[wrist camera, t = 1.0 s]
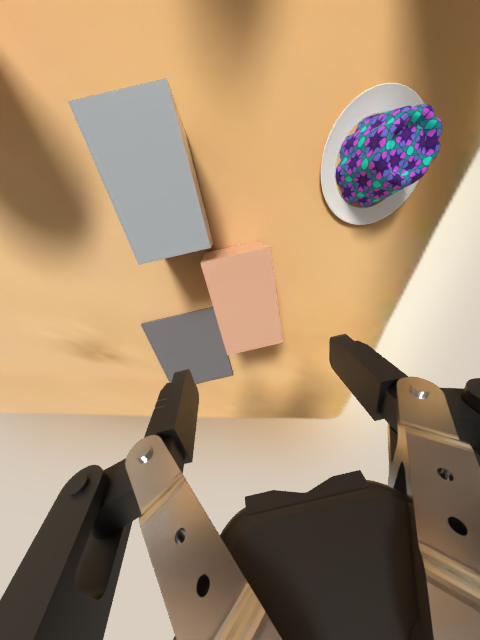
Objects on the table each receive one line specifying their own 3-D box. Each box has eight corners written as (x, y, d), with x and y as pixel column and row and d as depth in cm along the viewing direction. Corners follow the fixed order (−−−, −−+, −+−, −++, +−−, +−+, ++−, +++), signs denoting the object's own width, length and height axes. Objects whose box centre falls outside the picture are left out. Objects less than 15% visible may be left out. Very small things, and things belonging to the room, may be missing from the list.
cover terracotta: (255, 240, 24) (270, 246, 17) (267, 314, 28) (283, 342, 21) (205, 252, 24) (200, 263, 17) (225, 324, 28) (227, 355, 21)
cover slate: (185, 131, 19) (166, 78, 12) (213, 241, 23) (210, 247, 16) (122, 146, 19) (68, 101, 12) (162, 253, 23) (138, 264, 16)
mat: (213, 306, 27) (213, 307, 26) (232, 373, 32) (233, 374, 32) (142, 323, 27) (141, 324, 26) (173, 386, 32) (172, 388, 32)
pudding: (447, 112, 20) (516, 77, 16) (387, 235, 25) (426, 237, 20) (346, 66, 18) (391, 10, 13) (301, 211, 23) (323, 207, 18)
